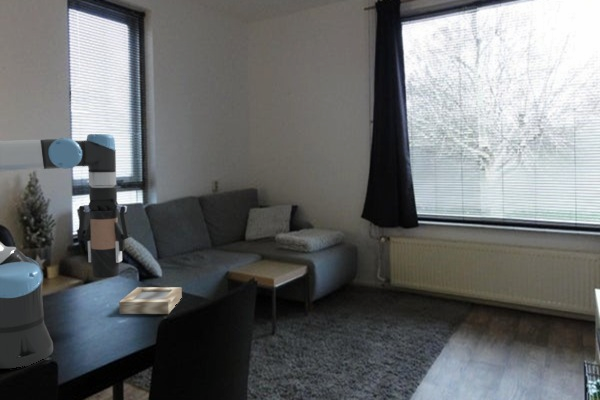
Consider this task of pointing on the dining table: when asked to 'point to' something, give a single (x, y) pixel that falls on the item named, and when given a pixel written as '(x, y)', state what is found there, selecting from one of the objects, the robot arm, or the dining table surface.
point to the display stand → (150, 300)
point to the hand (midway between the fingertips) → (105, 261)
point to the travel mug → (103, 243)
